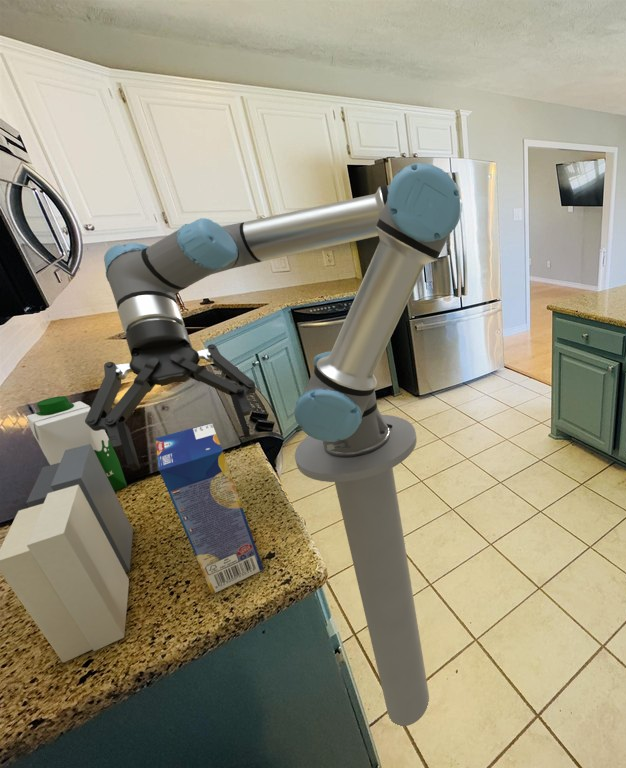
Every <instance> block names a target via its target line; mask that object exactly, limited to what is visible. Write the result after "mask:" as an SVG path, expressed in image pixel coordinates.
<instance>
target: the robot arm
mask: <svg viewBox="0 0 626 768" xmlns="http://www.w3.org/2000/svg"><path fill="white" fill-rule="evenodd" d="M462 201H463V200H462V197H461V192H460V190H459V187H458V186H457V183H456V182H455V181H454V179H453V178H452V177H451V175H449V174H448V173H447V172H446V171H445V170H444V169H442V168H440V167H438V166H437V165H434V164H430V163H426V162H425V163H424V162H416V163H412V164H409V165H407V166H404V167H403V168H402V169H401V170H399V171H398V172H397V174H395V175H394V177H393V178H392V180H391V182H390V184H388V185H382V186H378V188H377V190H376V192H375V193H373V194H368V195H364V196H359V197H354V198H349V199H345V200H340V201H336V202H332V203H326V204H322V205H317V206H312V207H307V208H304V209H298V210H294V211H289V212H285V213H279V214H274V215H270V216H266V217H261V218H257V219H252V220H247V221H243V222H236V223H233V224H227V225H222V226H221V225H220V224H219V223H217V222H215V221H213V220H212V219H210V218H207V217H203V218H202V217H201V218H198V219H196V220H194V221H191V222H190V223H185V224H183V225H182V226H181V227H180V228H179V229H177V230H175V231H173V232H172V233H170V234H168V235H166V236H165V237H163V238H162V239H160V240H158V241H157V242H154V243H153V244H151V245H146V244H143V243H138V242H127V243H125V244H116V245H113V246H110V248H109V249H108V250H107V251H106V252H105V254H104V257H103V262H104V267H105V277H106V280H107V282H108V283H109V287H110V289H111V293H112V295H113V299H114V302H115V305H116V309H117V313H118V317H119V320H120V323H121V326H122V330H123V333H124V334H125V340H126V344H127V346H128V351H129V353H130V356H131V360H130V361H129V362H128V363H119V364H116V363H115V362H113V361H107V362H105V363H104V364H103V370H104V377H103V379H102V381H101V384H100V386H99V389H98V391H97V392H96V395H95V397H94V399H93V402H92V404H91V406H90V407H91V408H90V410H89V413H88V415H87V417H86V419H85V423H86V424H87V425H88V426H89V427H90V428H91V429H92V430H94V431H99V430H105V431H107V436H108V438H109V440H110V443H111V445H112V447H113V449H114V450H116V451H119V450H123V453H124V458H125V461H126V464H127V466H128V467H129V468H130V469H131V470H132V471H133V472H135V471H138V470H140V469H141V465H140V462H139V458H138V455H137V451H136V448H135V445H134V441H133V438H132V434H131V430H130V428H129V426H128V425H127V424H126V422H127V420H128V419H129V418H130V417H131V415H132V414H133V412H134V411H135V410H136V408H138V406H139V405H140V404H141V402H142V401H143V399H144V398H145V397H146V396H147V395H148V394H149V393H150V392H151V391H152V390H153V389H154V388H155V386H156V385H157V386H161V387H164V386H168V385H170V384H173V383H184V382H186V380H188V379H189V378H190V379H192V380H194V381H196V382H199V383H200V382H201V383H203V384H205V385H207V386H209V387H212V388H214V389H216V390H217V391H220V392H221V393H224V394H226V395H228V396H230V397H231V403H232V405H233V409H234V411H235V413H236V416H237V418H238V422H239V425H240V428H241V430H242V433H243V436H244V438H249V437H251V432H250V428H249V425H248V423H247V420H246V418H245V417H246V416H251V413H252V410H251V406H250V404H249V401H248V398H247V396H248V395H251V394H254V393H255V392H256V391H257V389H256V383H255V381H254V380H253V379H251V378H250V377H249V376H248V375H247V374H245V373H244V372H243V371H241V370H240V369H239V368H238V367H237V366H236V365H234V364H233V363H232V362H231V361H229V360H228V359H227V358H225V356H223V355H222V354H221V353H220V350H219V348H218V347H217V345H216V344H213V343H210V344H208V345H207V348H205V349H204V348H203V349H201V350H195V349H194V347H193V345H192V342H191V340H190V336H189V333H188V331H187V328H186V327H185V326H186V325H185V322H184V320H183V317H182V313H181V310H180V307H179V305H178V301H177V298H176V294H177V293H179V292H181V291H183V290H185V289H187V288H189V287H190V286H192V285H194V284H195V283H198V282H199V281H201V280H203V279H205V278H206V277H209V276H211V275H215V274H218V273H223V272H225V271H229V270H232V269H236V268H241V267H246V266H249V265H253V264H258V263H262V262H266V261H270V260H271V261H272V260H276V259H280V258H283V257H288V256H293V255H299V254H303V253H306V252H312V251H316V250H321V249H325V248H330V247H334V246H339V245H344V244H347V243H352V242H357V241H362V240H366V239H371V238H376V237H379V242H378V244H377V247H376V249H375V251H374V254H373V256H372V258H371V260H370V263H369V264H368V267H367V270H366V272H365V273H364V276H363V279H362V281H361V283H360V285H359V288H358V290H357V292H356V294H355V297H354V299H353V301H352V303H351V306H350V308H349V310H348V313H347V315H346V317H345V319H344V322H343V324H342V326H341V329H340V331H339V333H338V335H337V338H336V339H335V343H334V345H333V347H332V349H331V350H330V351H325V352H322V353H319V354H317V355H315V356H314V357H313V371H312V373H311V375H310V378H309V380H308V382H307V385H306V386H305V389H304V391H303V393H302V394H301V395H300V396H299V397H298V398H297V400H296V402H295V408H294V419H295V421H296V424H297V425H298V426H299V427H300V430H301V431H302V432H303V433H304V434H306V436H308V435H309V436H310V437H312V438H315V439H317V440H321V441H323V446H324V450H325V451H326V453H328V454H329V455H331V456H335V457H341V458H349V457H357V456H362V455H365V454H369V453H371V452H374V451H376V450H378V449H379V448H381V447H382V446H384V445H385V444H386V443H387V441H388V440H389V437H390V434H389V428H392V425H390V424H387V423H386V422H385V420H384V419H383V417H382V415H383V414H382V413H381V411H380V410H379V408H378V402H377V396H376V391H375V389H376V387H377V385H378V381H377V378H376V376H375V374H374V373H375V371H376V369H377V367H378V365H379V363H380V361H381V360H382V356H383V354H384V353H385V350H386V348H387V346H388V344H389V342H390V340H391V337H392V335H393V334H394V331H395V329H396V327H397V325H398V323H399V321H400V319H401V316H402V315H403V313H404V310H405V308H406V306H407V304H408V302H409V300H410V298H411V295H412V293H413V291H414V289H415V287H416V285H417V283H418V281H419V279H420V277H421V275H422V272H423V270H424V268H425V266H426V265H427V264H430V263H433V262H436V261H438V259H439V257H440V255H441V253H442V251H443V249H444V247H445V245H446V243H447V241H448V239H449V237H450V235H451V234H452V233H453V232H454V230H455V229H456V227H457V226H458V224H459V222H460V220H461V216H462V209H463V208H462V207H463V204H462ZM200 360H205V361H206V362H207V363H213V364H214V365H215V367H217V369H219V370H220V371H221V372H222V373H224V374H225V375H226V376H228V378H230V379H231V380H232V381H233V382H232V381H230V380H228V379H225V378H224V377H222V376H219V375H217V374H216V373H214V372H211V371H209V370H207V369H205V368H204V367H203V366H201V365H200V364H199V363H200ZM129 373H133V374H135V375H136V376H135V378H134V379H133V383H132V384H131V385H130V386H129V388H128V389H127V390H126V392H125V393H124V394H123V396H122V397H121V398H120V400H119V401H118V402H117V403H116V404H115V405H114V403H115V400H116V398H117V396H118V393H119V391H120V389H121V386H122V381H123V380H125V379H126V378H127V376H128V374H129ZM113 405H114V407H113ZM112 407H113V408H112ZM388 427H389V428H388Z"/></svg>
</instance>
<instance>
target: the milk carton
mask: <svg viewBox="0 0 626 768" xmlns="http://www.w3.org/2000/svg"><path fill="white" fill-rule="evenodd" d="M36 406H37V409H38V410H39V411H37V412H35V413H32V414H28V415H26V419H27V422H28V425H29V428H30V430H31V432H32V434H33V436H34V438H35V440H36V441H37V443H38V446H39V447H40V450H41V451H42V453H43V455H44V457H45V458H46V461H47V462H48V464H49V465H53V464H56V463H60V462H61V459H62V457H63V455H64V452H65V450H68V449H72V448H76V447H80V446H84V445H88V444H91V445H92V447H93V449H94V451H95V453H96V455H97V457H98V459H99V462H100V464H101V466H102V468H103V470H104V472H105V474H106V476H107V478H108V480H109V482H110V484H111V486H112V488H113V490H114V492H116V491H119V490H122V489H123V488H126V487H128V485H127V480H126V478H125V475H124V472H123V470H122V466H121V462H120V460H119V457H118V456H117V453H116V451H115V448H114V447H113V446H112V445H111V443H110V439H109V436H108V433H106V430H99V431H94V430H92V429H91V428H90V427H89V426H88V425H87V424H86V423H85V419H86V417H87V415H88V413H89V410H90V408H91V406H90V405H88V404H86V403H84V402H83V401H82V400H79V401H75V402H71V403H70V401H69V399H68V397H67V396H66V395H65V396H64V395H60V396H54V397H49V398H45V399H43V400H40V401H38V402H37V403H36Z"/></svg>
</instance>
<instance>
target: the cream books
mask: <svg viewBox="0 0 626 768" xmlns="http://www.w3.org/2000/svg"><path fill="white" fill-rule="evenodd" d="M0 574H1V576H2V577H3V579H4V580H5V581H6V583H7V584H8V586H9V587H10V589H11V590H12V591H13V593H14V594H15V596H16V597H17V599H18V600H19V601H20V603H21V604H22V606H23V607H24V609H25V610H26V612H27V614H29V616H30V618H31V619H32V621H34V623H35V625H36V627H38V629H39V631H40V632H41V633H42V634H43V636H44V638H45V640H46V641H47V642H48V643H49V645H50V646H51V648H52V649H53V651H54V652H55V654H56V655H57V656H58V658H59V659H60V661H61V662H62V663H63V664H64V663H66V662H68V661H71V660H73V659H75V658H77V657H79V656H81V655H84V654H86V653H88V652H90V651H93V652H96V651H98V650H100V649H102V648H105V647H107V646H109V645H111V644H113V643H115V642H117V641H119V640H122V639H124V638H125V637H126V636H125V635H126V623H127V610H128V600H129V587H130V585H129V584H130V579H129V577H128V575H127V573H125V571H124V569H123V567H122V565H121V564H120V562H119V560H118V558H117V556H116V554H115V552H114V550H113V549H112V547H111V545H110V543H109V541H108V539H107V537H106V535H105V533H104V532H103V530H102V528H101V526H100V524H99V522H98V520H97V518H96V516H95V515H94V513H93V511H92V509H91V507H90V505H89V503H88V501H87V499H86V498H85V496H84V494H83V492H82V490H81V488H80V486H79V485H75V486H72V487H68V488H65V489H61V490H58V491H54V492H51V493H48V494H47V496H46V499H45V501H44V503H43V504H40V505H36V506H33V507H30V508H29V507H26V508H22V509H19V510H18V511H17V512H16V515H15V517H14V519H13V521H12V524H11V526H10V527H9V529H8V532H7V533H6V535H5V538H4V540H3V542H2V544H1V546H0Z"/></svg>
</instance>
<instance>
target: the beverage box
mask: <svg viewBox="0 0 626 768" xmlns="http://www.w3.org/2000/svg"><path fill="white" fill-rule="evenodd" d="M214 427H215V426H214V424H213V422H209V423H206V424H202V425H199V426H196V427H191V428H187V429H184V430H180V431H176V432H173V433H169V434H166V435H162V436H158V437H155V445H156V454H157V455H156V456H157V463H158V471H159V474H160V477H161V478H162V481H163V483H164V485H165V488H166V490H167V493H168V495H169V497H170V500H171V503H172V505H173V507H174V509H175V511H176V513H177V516H178V518H179V521H180V523H181V525H182V528H183V531H184V532H185V535H186V537H187V540H188V542H189V544H190V546H191V548H192V551H193V553H194V555H195V558H196V561H197V563H198V565H199V567H200V568H199V569H200V570H201V572H202V574H203V577H204V579H205V582H206V584H207V586H208V588H209V591H210V593H211V595H214V594H216V593H218V592H220V591H222V590H224V589H226V588H229V587H230V586H232V585H235V584H236V583H239V582H241V581H243V580H244V579H247V578H250V577H251V576H253V575H255V574H257V573H260V572H261V571H264V570H265V568H264V566H263V564H262V560H261V558H260V555H259V551H258V549H257V546H256V542H255V540H254V538H253V534H252V532H251V531H252V530H251V528H250V526H249V522H248V520H247V517H246V514H245V511H244V508H243V506H242V502H241V499H240V497H239V494H238V491H237V488H236V484H235V482H234V479H233V477H232V473H231V471H230V468H229V465H228V462H227V459H226V456H225V453H224V450H223V448H222V445H221V442H220V440H219V437H218V435H217V433H216V430H215V428H214Z"/></svg>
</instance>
